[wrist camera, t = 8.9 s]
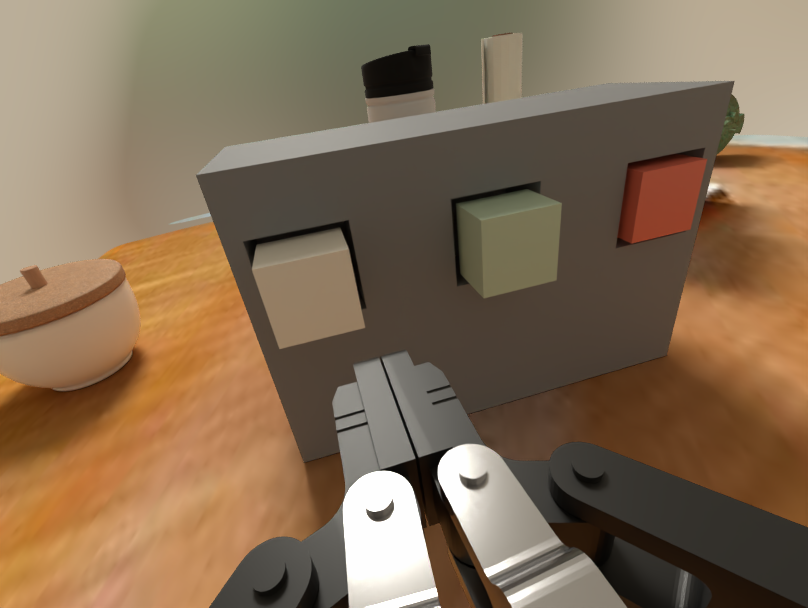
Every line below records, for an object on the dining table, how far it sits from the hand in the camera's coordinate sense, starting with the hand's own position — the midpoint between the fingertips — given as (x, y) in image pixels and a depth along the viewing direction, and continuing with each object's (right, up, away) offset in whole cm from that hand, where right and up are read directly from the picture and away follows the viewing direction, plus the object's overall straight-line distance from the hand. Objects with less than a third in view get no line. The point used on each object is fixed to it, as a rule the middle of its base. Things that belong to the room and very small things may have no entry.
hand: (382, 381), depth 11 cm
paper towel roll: (+18, +25, +62) cm, 69 cm away
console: (+5, -2, +17) cm, 18 cm away
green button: (+5, +3, +8) cm, 10 cm away
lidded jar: (-26, -3, +23) cm, 35 cm away
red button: (+14, +6, +11) cm, 19 cm away
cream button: (-3, +1, +7) cm, 8 cm away
